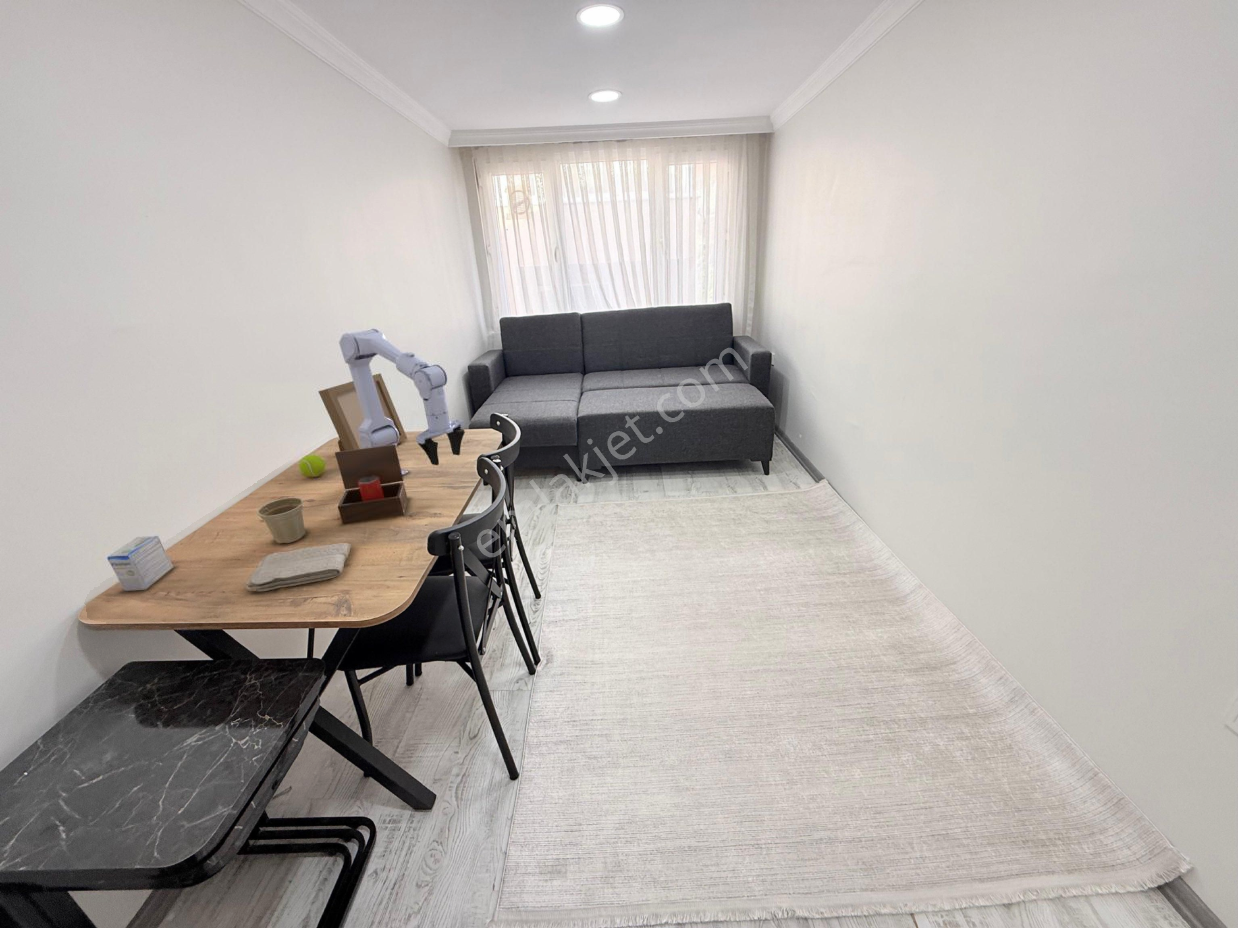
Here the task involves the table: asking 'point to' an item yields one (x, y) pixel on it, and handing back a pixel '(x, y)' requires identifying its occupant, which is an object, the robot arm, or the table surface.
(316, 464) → the tennis ball
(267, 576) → the washcloth
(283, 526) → the flower pot
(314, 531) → the table surface
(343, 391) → the photo frame
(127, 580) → the medicine box
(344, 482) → the lid
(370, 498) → the can
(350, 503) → the storage box
